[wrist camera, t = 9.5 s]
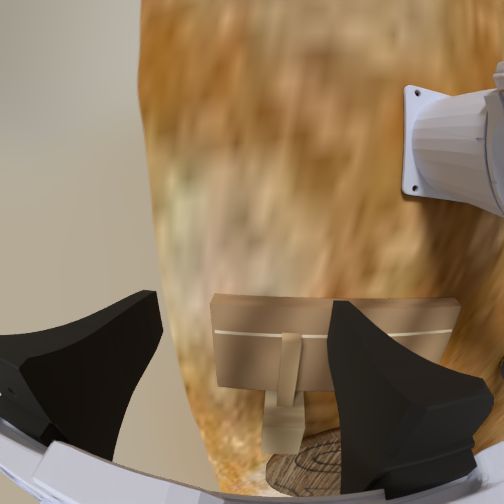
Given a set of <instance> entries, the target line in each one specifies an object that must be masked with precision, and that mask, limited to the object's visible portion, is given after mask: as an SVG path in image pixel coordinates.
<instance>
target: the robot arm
mask: <svg viewBox="0 0 504 504" xmlns="http://www.w3.org/2000/svg"><path fill="white" fill-rule="evenodd" d="M493 80H494V82H495V84H496V86H497V88H496V89H489V90H484V91H478V92H473V93H467V94H462V95H458V96H453V97H451V96H448V95H445V94H441V93H438V92H435V91H431V90H427V89H424V88H420V87H416V86H412V85H408V86H406V87H405V88H404V158H403V174H402V191H403V192H404V193H405V194H407V195H414V196H422V197H430V198H438V199H445V200H452V201H458V202H465V203H469V204H472V205H474V206H476V207H479V208H481V209H484V210H486V211H488V212H491V213H493V214H495V215H497V216H500V217H502V218H504V61H502V62H499V63H498V64H497V67H496V73H495V74H493ZM415 91H417V92H418V94H419V95H418V96H416V95H415ZM414 185H415V186H416V190H415V191H413V190H412V188H413V186H414ZM162 333H163V327H162V321H161V316H160V311H159V305H158V299H157V293H156V291H149V290H142V291H140V292H137V293H135V294H133V295H130V296H128V297H126V298H124V299H122V300H120V301H118V302H116V303H114V304H112V305H110V306H108V307H107V308H104V309H102V310H100V311H98V312H96V313H94V314H92V315H89V316H87V317H85V318H82V319H80V320H77V321H74V322H71V323H69V324H66V325H63V326H59V327H55V328H51V329H47V330H43V331H38V332H32V333H26V334H15V335H0V393H1V394H2V395H1V396H0V471H1V472H2V473H4V474H5V475H6V476H7V477H8V478H10V479H11V480H12V481H13V482H15V483H16V484H17V485H18V486H20V487H21V488H22V489H24V490H25V491H26V492H28V493H29V494H31V495H32V496H33V497H35V498H36V499H38V500H39V501H41V502H40V504H504V441H500V442H498V443H496V444H494V445H492V446H490V447H487V448H485V449H483V450H481V451H479V452H478V453H476V454H475V455H474V456H473V453H472V450H471V448H473V447H474V446H475V442H474V440H473V437H472V436H473V435H474V433H475V432H476V431H477V430H478V428H479V427H480V426H481V425H482V423H483V422H484V421H485V419H486V418H487V417H488V415H489V413H490V412H491V409H492V407H493V404H494V397H493V395H492V393H491V392H490V390H489V388H488V387H487V385H486V383H485V382H484V380H483V379H482V378H478V377H474V376H470V375H467V374H463V373H459V372H456V371H453V370H451V369H448V368H445V367H443V366H440V365H438V364H436V363H433V362H431V361H429V360H427V359H425V358H423V357H421V356H419V355H418V354H416V353H414V352H412V351H411V350H409V349H408V348H406V347H404V346H403V345H401V344H400V343H398V342H397V341H395V340H394V339H393V338H391V337H390V336H389V335H387V334H386V333H385V332H384V331H382V330H381V329H380V328H379V327H377V326H376V325H375V324H374V323H373V322H372V321H371V320H369V319H368V318H367V317H366V316H365V315H364V314H363V313H362V312H361V311H360V310H359V309H357V308H356V307H355V306H354V305H353V304H352V303H351V302H349V301H345V300H333V306H332V313H331V319H330V325H329V330H328V336H327V354H328V363H329V368H330V372H331V377H332V381H333V386H334V391H335V395H336V400H337V405H338V411H339V420H340V436H341V486H340V495H333V496H319V497H262V496H248V495H237V494H228V493H220V492H214V491H207V490H204V489H202V488H199V487H195V486H192V485H188V484H185V483H181V482H177V481H174V480H171V479H166V478H162V477H158V476H154V475H151V474H148V473H144V472H141V471H138V470H134V469H131V468H128V467H125V466H122V465H119V464H117V463H114V462H112V460H113V455H114V450H115V446H116V441H117V438H118V434H119V430H120V427H121V424H122V421H123V418H124V415H125V412H126V409H127V407H128V404H129V401H130V398H131V396H132V394H133V391H134V390H135V388H136V386H137V384H138V382H139V380H140V378H141V377H142V375H143V373H144V371H145V369H146V368H147V366H148V364H149V362H150V360H151V359H152V357H153V355H154V353H155V351H156V349H157V347H158V344H159V342H160V339H161V336H162Z"/></svg>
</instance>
